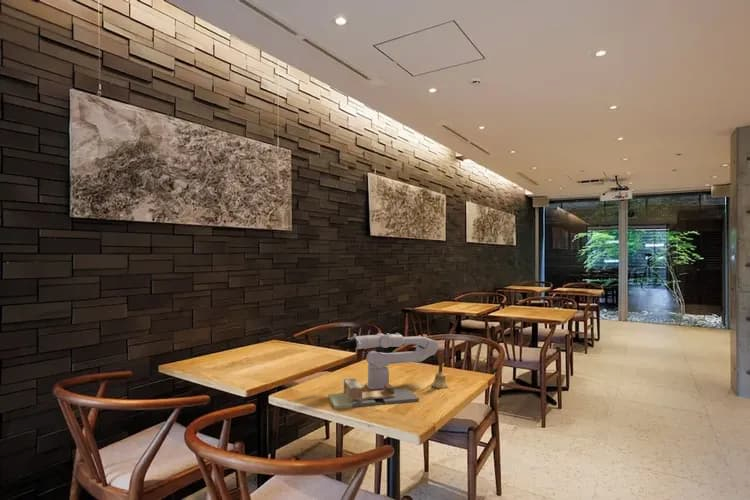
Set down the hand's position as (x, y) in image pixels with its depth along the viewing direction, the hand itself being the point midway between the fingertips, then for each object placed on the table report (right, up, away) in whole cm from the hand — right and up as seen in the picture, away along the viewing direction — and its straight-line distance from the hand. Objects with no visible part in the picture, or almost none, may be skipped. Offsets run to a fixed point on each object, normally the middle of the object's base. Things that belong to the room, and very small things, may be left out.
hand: (336, 344), depth 189 cm
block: (+8, -19, -12) cm, 24 cm away
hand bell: (+48, -22, +11) cm, 54 cm away
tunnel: (+8, -20, -12) cm, 24 cm away
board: (+16, -21, -9) cm, 28 cm away
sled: (+15, -20, -10) cm, 27 cm away
